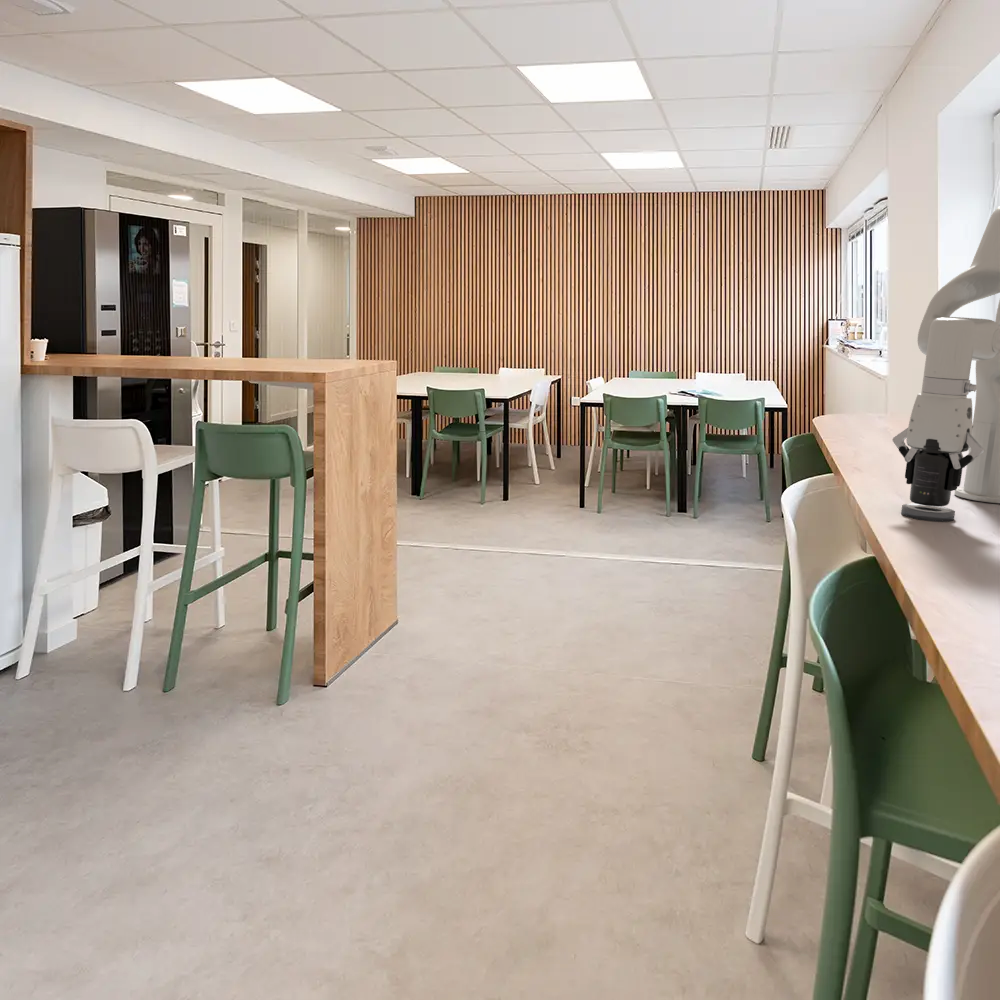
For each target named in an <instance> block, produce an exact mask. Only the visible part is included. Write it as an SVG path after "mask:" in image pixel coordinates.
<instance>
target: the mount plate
mask: <svg viewBox="0 0 1000 1000" xmlns="http://www.w3.org/2000/svg"><path fill="white" fill-rule="evenodd" d="M900 511H901V512H900V514H901V515H902V516H904V517H908V518H911V519H916V520H921V521H927V522H929V521H930V522H938V523H939V522H945V523H946V522H953V521H954V520H955V515H956V514H955V513H956V510H954V509H952V508H948V507H946V506H926V505H920V504H916V503H913V502H911V503H905V504H902V505H901V509H900Z"/></svg>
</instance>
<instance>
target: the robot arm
mask: <svg viewBox="0 0 1000 1000" xmlns="http://www.w3.org/2000/svg"><path fill="white" fill-rule="evenodd" d="M999 293H1000V206H998V207H997V208H996V209H995V210H993V212H992V213H991V215H990V217H989V219H988V222H987V224H986V228H985V230H984V233H983V234H982V236H981V239H980V243H979V244H978V247H977V250H976V252H975V254H974V257H973V259H972V262H971V264H970V266H969V268H967V269H965V270H964V271H963V272H960V273H959V274H957V275H956V276H955V277H953V278H952V279H950V280H949V281H948V282H947V283H945V284H944V286H942V287H941V288H940V289H939V290H937V292H936V293H935V294H934V295H933V297H932V298H931V299H930V301H929V303H928V306H927V308H926V310H925V313H924V315H923V317H922V319H921V322H920V326H919V329H918V333H917V346H918V349H919V351H920V352H921V353H922V354H923V355H924V356H925V363H924V370H923V379H922V386H921V393H918V394H917V395H916V397H915V400H914V404H913V407H912V409H911V413H910V417H909V422H908V427H907V428H905V429H904V430H902V431H901V432H899V433H898V434H896V435H895V436H894V437H893V438H892V442H893V444H894V446H896V449H898V451H899V453H900V455H902V457H903V458H904V461H905V462H906V466H905V473H904V478H905V480H906V481H905V482H906V483H905V484H907V485H911V482H912V473H913V465H914V458H915V455H916V454H917V453H918V452H920V451H922V450H924V449H926V448H923V447H924V446H925V444H926V439H935V440H937V441H938V442H939V447H940V448H941V450H939V451H941V452H943V453H949V455H950V458H951V461H952V464H953V467H952V468H951V469H950V471H949V478H948V485H947V490H949V491H951V492H952V491H954V495H955V496H957V497H959V498H962V499H966V500H971V501H976V502H982V503H983V502H984V503H991V504H1000V299H999V301H998V305H997V309H996V315H995V320H992V319H988V318H976V317H975V318H974V317H971V318H970V317H962V316H961V317H960V316H959V317H956V316H952V314H954V313H955V312H956V311H957V310H959V309H960V308H962V307H964V306H965V305H968V304H970V303H973V302H976V301H980V300H983V299H985V298H989V297H991V296H995V295H997V294H999ZM972 361H975V384H973V383H971V380H970V375H971V368H972ZM969 393H975V404H974V412H973V400H972V398H971V397H967V396H968V395H969ZM905 439H906V443H905ZM938 442H937V443H938ZM967 451H968V453H967V455H965V456H964V454H963V452H967ZM964 468H965V474H964V482H963V486H962V487H960V486H961V483H962V481H961V480H962V474H963V469H964Z"/></svg>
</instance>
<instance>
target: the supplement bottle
mask: <svg viewBox="0 0 1000 1000" xmlns="http://www.w3.org/2000/svg"><path fill="white" fill-rule="evenodd" d="M937 442H938V441H937V440H935V439H926V444H925V446H924V447H923V448H926V449H924V450H922V451H920V452H918V453H917V454H916V455H915V458H914V465H913V473H912V482H911V484H910V489H909V490H910V491H909V501H910V502H911V503H916V504H920V505H926V506H942V507H946V506H948V505H949V504H950V502H951V495H952V491H949V490H947V485H948V478H949V471H950V469H951V468H952V467H953V464H952V461H951V458H950V455H949V453H943V452H941V451H939V450H941V448H940V447H939V442H938V443H937Z"/></svg>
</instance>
